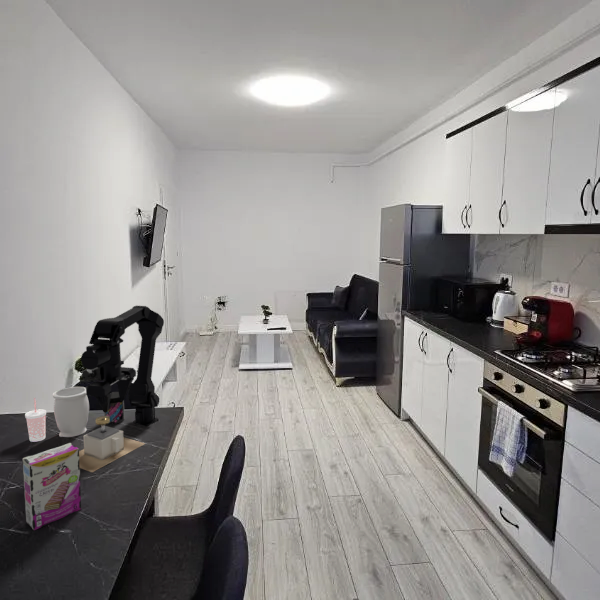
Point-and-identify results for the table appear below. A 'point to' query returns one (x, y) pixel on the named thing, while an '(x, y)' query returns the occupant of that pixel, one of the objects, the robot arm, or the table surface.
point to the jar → (71, 411)
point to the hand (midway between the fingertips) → (113, 406)
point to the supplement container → (115, 409)
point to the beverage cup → (36, 424)
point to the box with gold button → (103, 442)
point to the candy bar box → (51, 485)
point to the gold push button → (103, 421)
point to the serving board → (95, 464)
